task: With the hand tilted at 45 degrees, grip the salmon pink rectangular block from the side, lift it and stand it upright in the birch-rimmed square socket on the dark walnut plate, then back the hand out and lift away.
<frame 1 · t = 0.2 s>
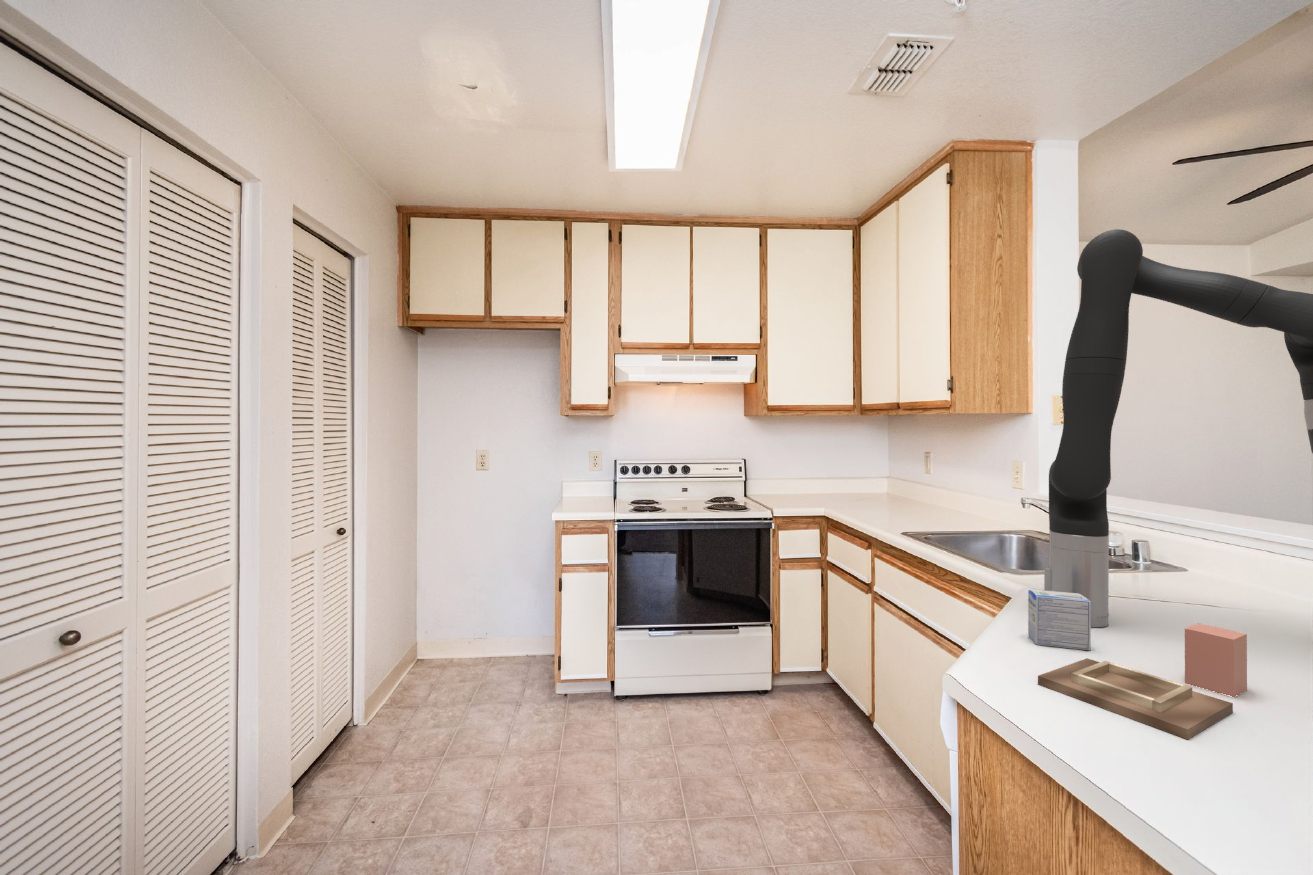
socket plate: (1130, 697, 73), on the countertop
medicine box: (1058, 645, 92), on the countertop
salmon pink rectangular block: (1215, 686, 76), on the countertop
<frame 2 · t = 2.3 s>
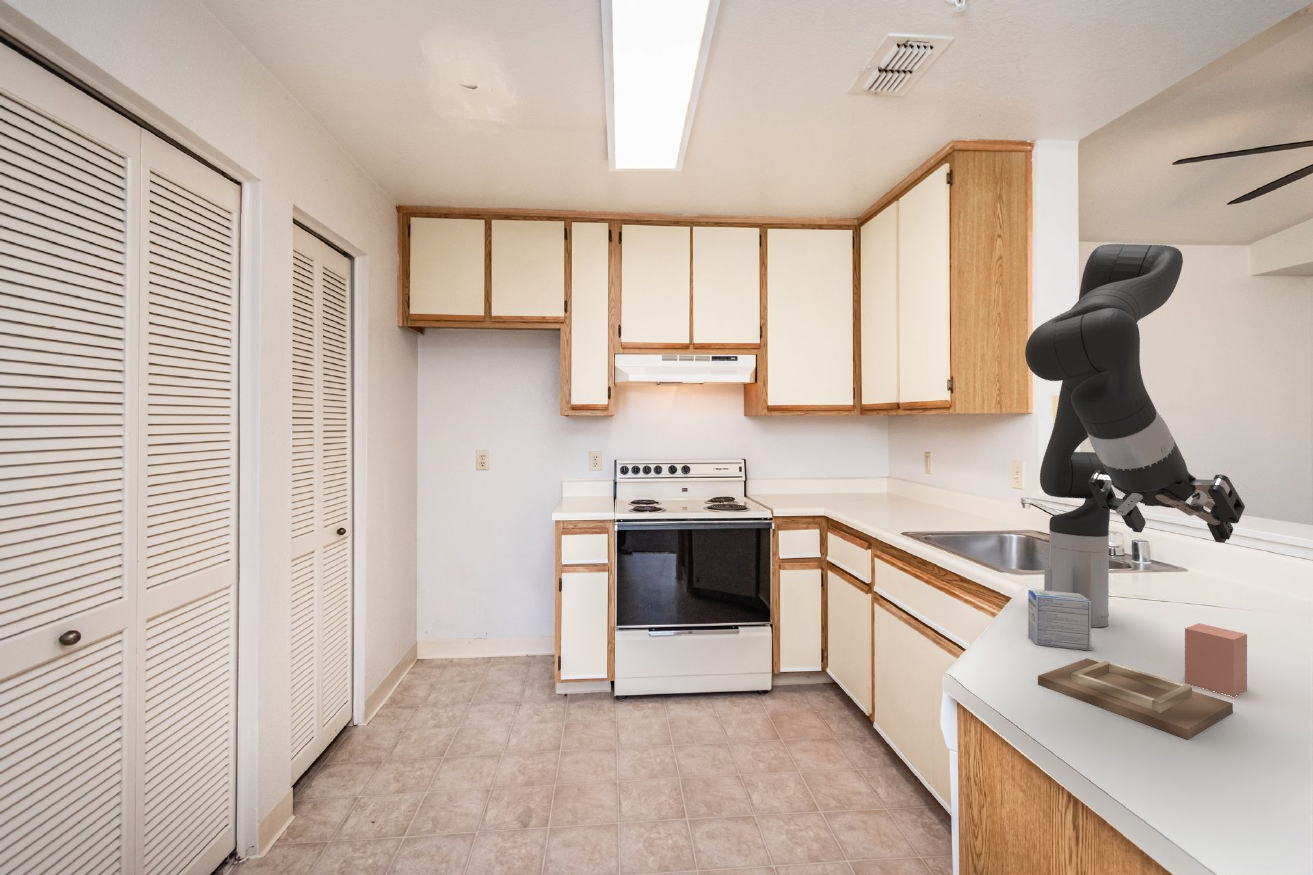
hand: (1179, 532, 72), 23 cm above the countertop, tool tilted 45°, fingers open, 8 cm apart
nothing on the countertop moved.
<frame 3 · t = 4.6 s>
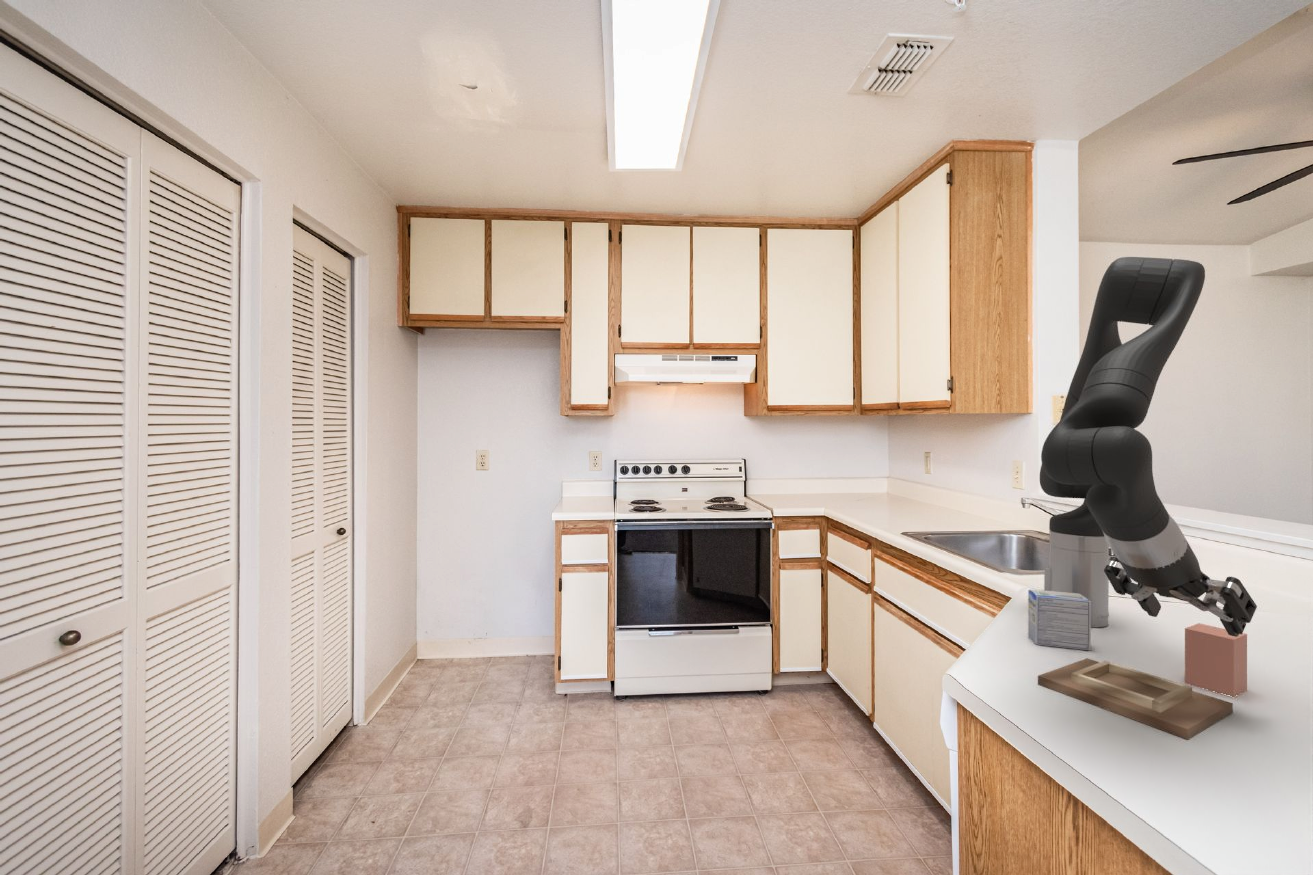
hand: (1193, 620, 74), 10 cm above the countertop, tool tilted 45°, fingers open, 8 cm apart
nothing on the countertop moved.
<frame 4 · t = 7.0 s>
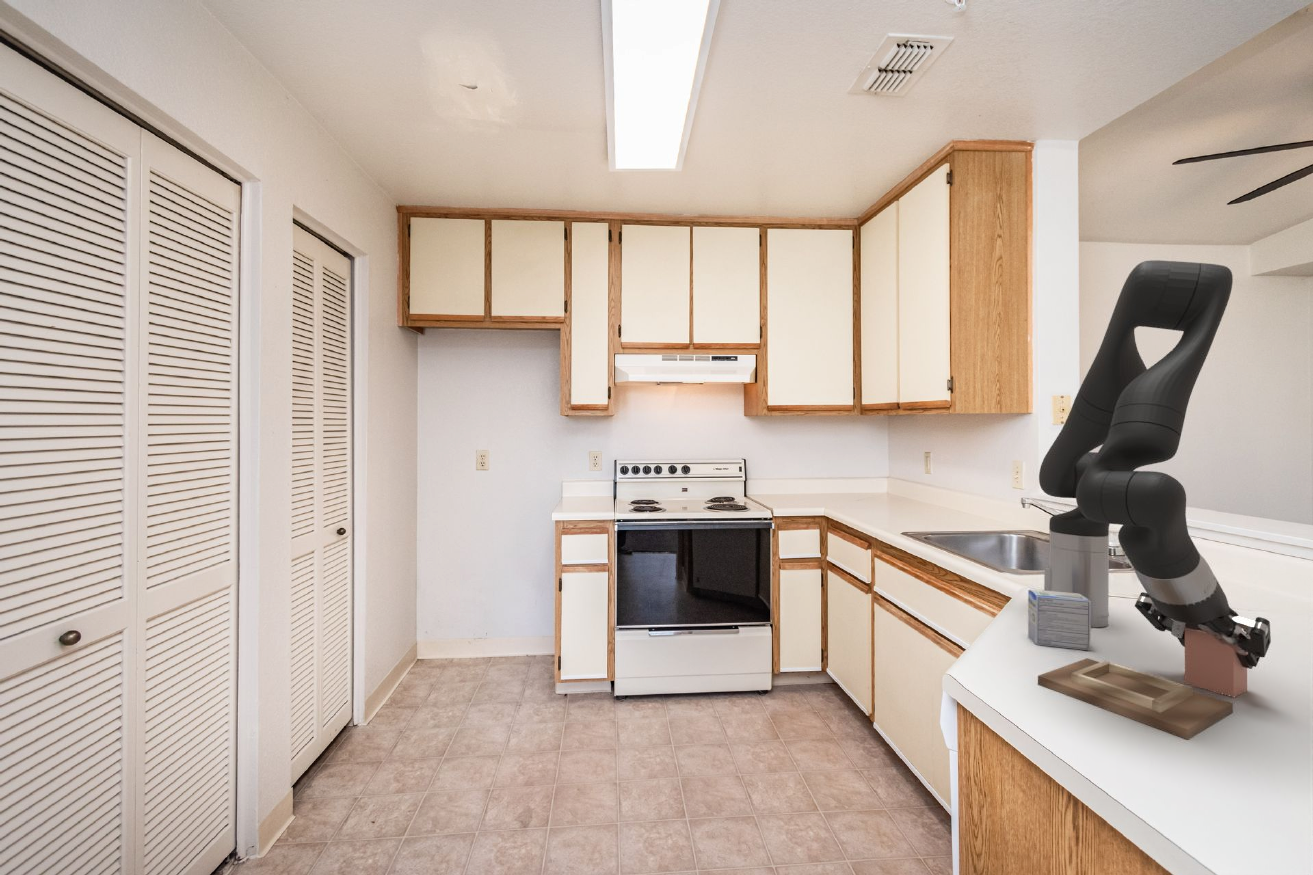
hand: (1221, 654, 77), 4 cm above the countertop, tool tilted 45°, fingers closed on salmon pink rectangular block, 5 cm apart
salmon pink rectangular block: (1215, 686, 76), on the countertop, touching gripper
everything else where it was.
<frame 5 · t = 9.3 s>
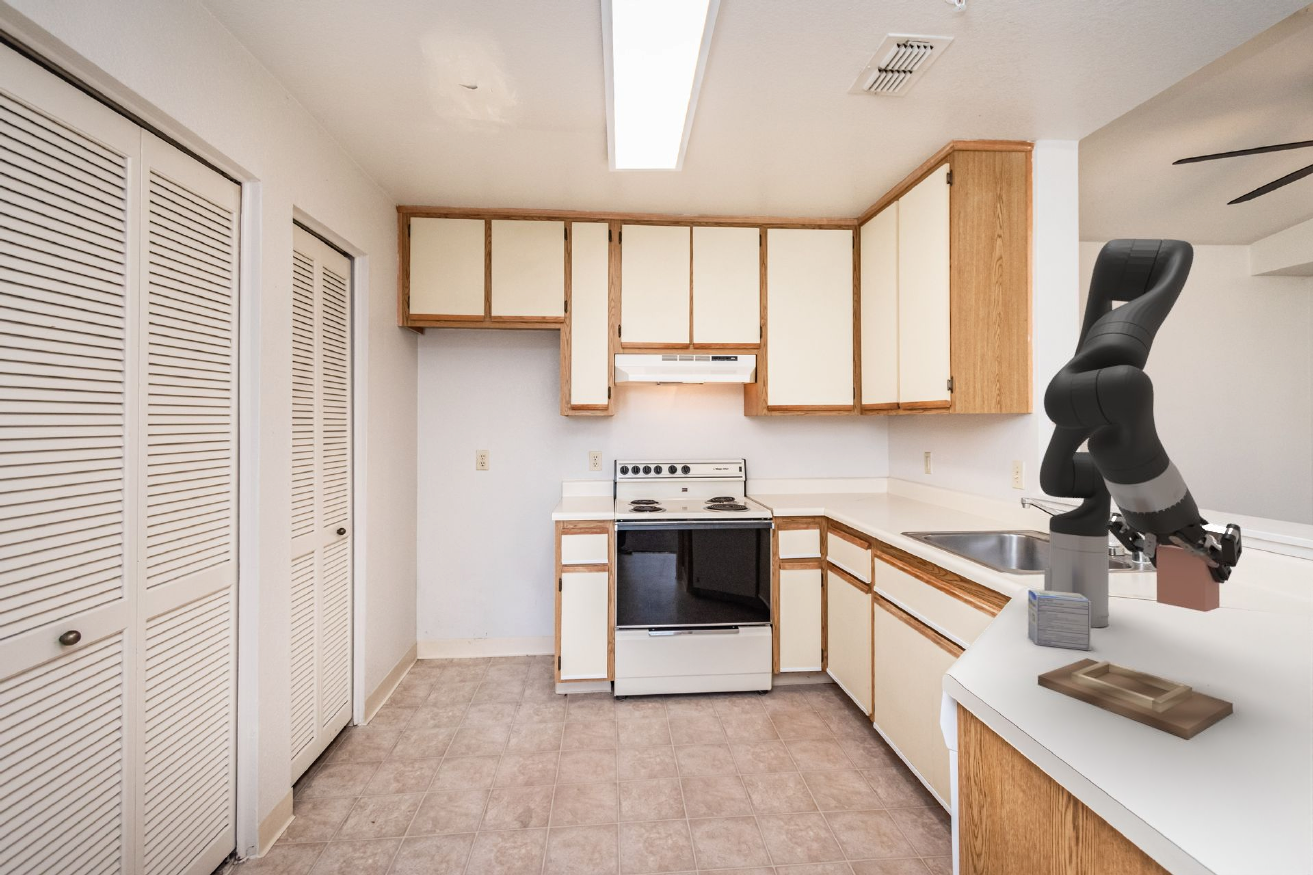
hand: (1193, 573, 75), 17 cm above the countertop, tool tilted 45°, fingers closed on salmon pink rectangular block, 5 cm apart
salmon pink rectangular block: (1187, 604, 74), point 12 cm above the countertop, touching gripper
everything else where it was.
when the fingers open (7 cm above the countertop, at t = 12.1 s): salmon pink rectangular block drops 1 cm, resting on socket plate.
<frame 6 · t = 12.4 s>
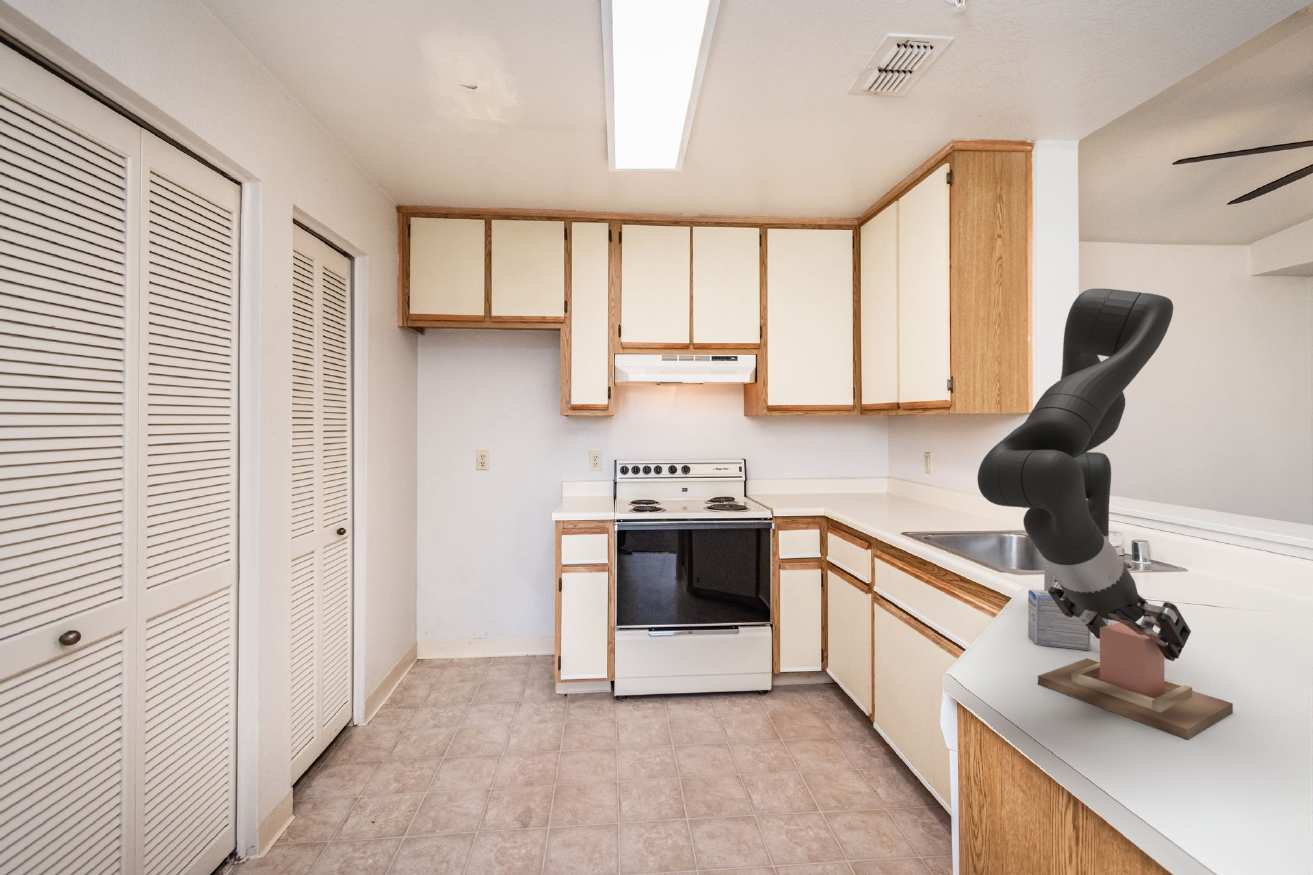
hand: (1136, 643, 73), 7 cm above the countertop, tool tilted 45°, fingers open, 7 cm apart
salmon pink rectangular block: (1131, 689, 73), point 1 cm above the countertop, touching socket plate
everything else where it was.
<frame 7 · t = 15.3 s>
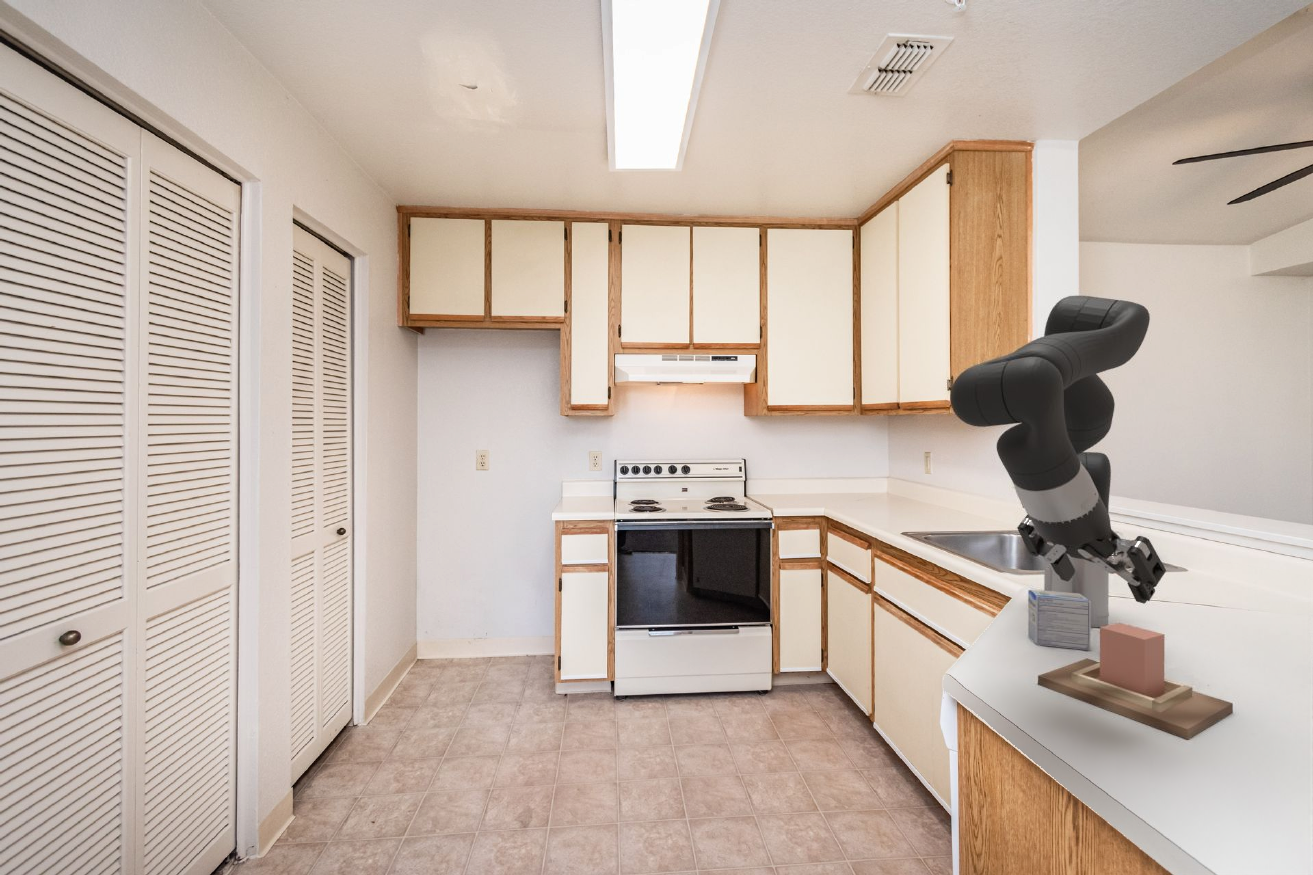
hand: (1104, 586, 69), 16 cm above the countertop, tool tilted 40°, fingers open, 8 cm apart
nothing on the countertop moved.
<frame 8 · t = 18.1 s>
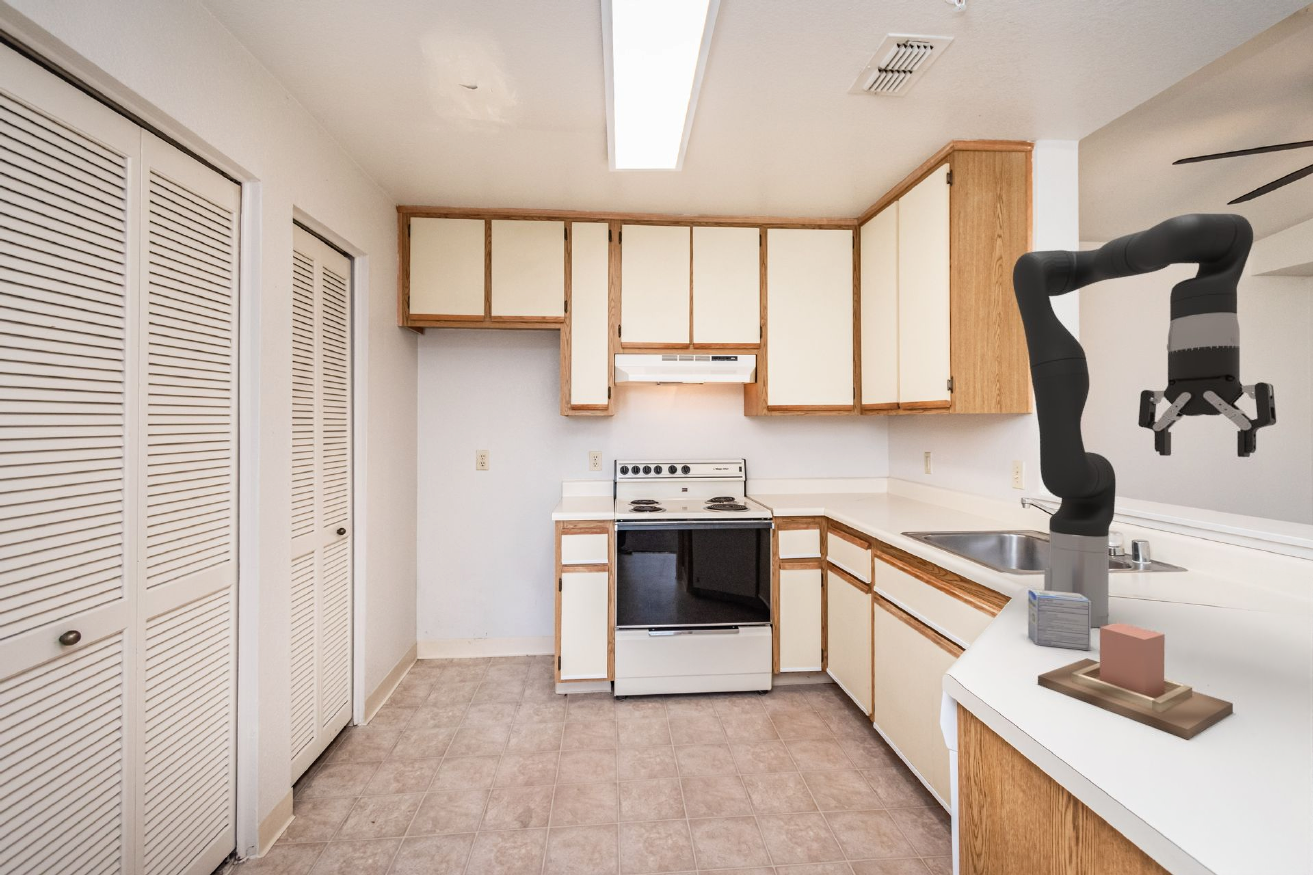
hand: (1202, 456, 79), 33 cm above the countertop, tool pointing down, fingers open, 8 cm apart
nothing on the countertop moved.
at the end: salmon pink rectangular block 0.2 cm off-centre on the socket plate, point 1.2 cm above the socket plate's base; salmon pink rectangular block tilted 0°; the gripper is holding nothing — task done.
